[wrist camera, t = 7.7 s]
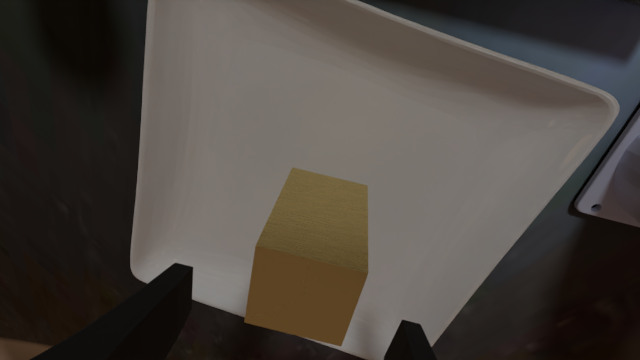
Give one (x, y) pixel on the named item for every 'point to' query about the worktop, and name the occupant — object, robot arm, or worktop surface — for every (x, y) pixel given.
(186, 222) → the salad plate
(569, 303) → the worktop surface
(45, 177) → the worktop surface
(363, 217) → the yellow rectangular block
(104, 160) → the worktop surface
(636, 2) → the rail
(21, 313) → the worktop surface
